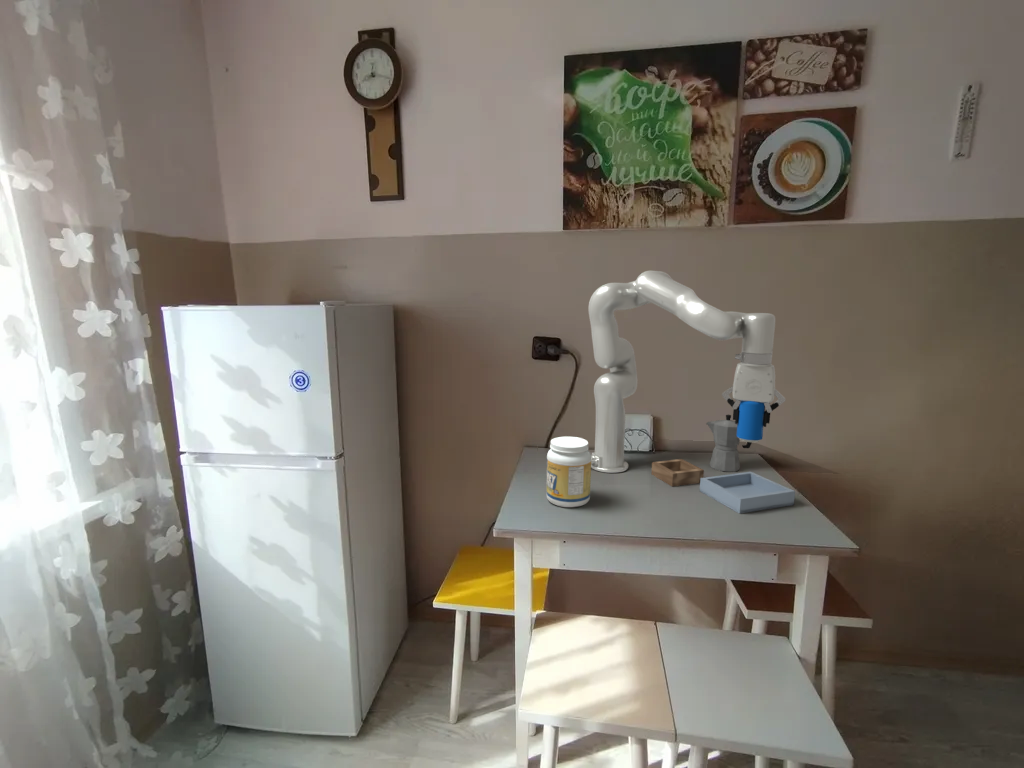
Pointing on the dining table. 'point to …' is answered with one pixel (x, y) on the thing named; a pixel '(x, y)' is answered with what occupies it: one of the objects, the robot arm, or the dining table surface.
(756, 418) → the beverage can
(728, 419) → the coffeepot
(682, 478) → the brown wooden box
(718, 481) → the tray
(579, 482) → the supplement tub
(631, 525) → the dining table surface
